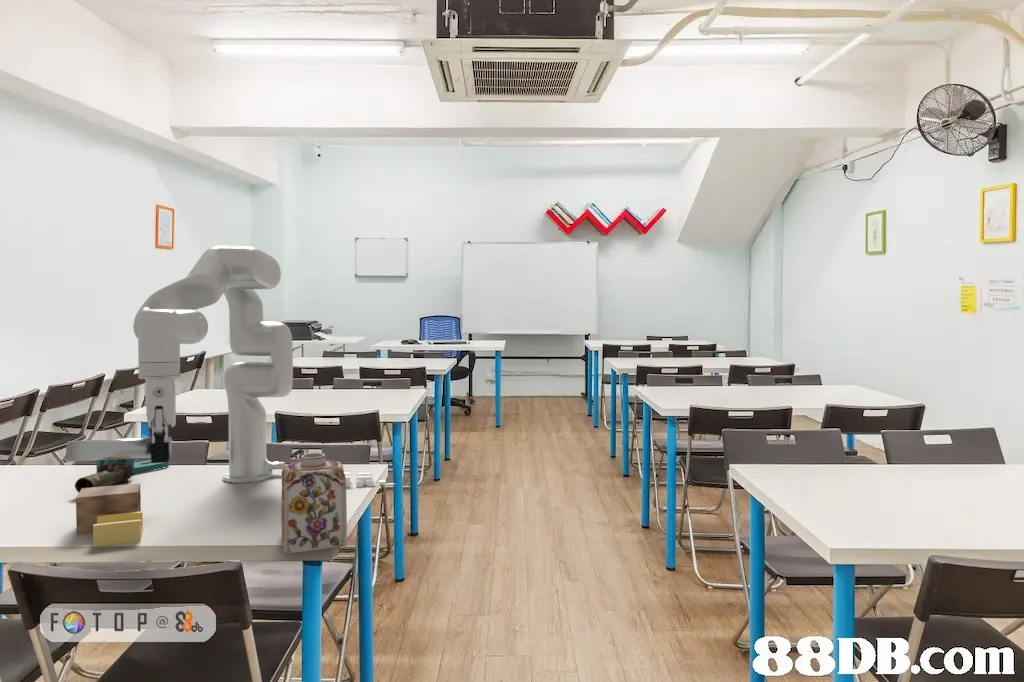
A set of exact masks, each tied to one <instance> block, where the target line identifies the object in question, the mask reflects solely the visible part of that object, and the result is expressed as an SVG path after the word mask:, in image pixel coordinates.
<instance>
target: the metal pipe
mask: <svg viewBox="0 0 1024 682" xmlns="http://www.w3.org/2000/svg"><path fill="white" fill-rule="evenodd" d="M132 468H133V466H131V465H127V464H125V463H122V462H120V463H117V461H116V462H112V463H111V462H108V463H106V464H102V465H101V466H99V468H98V472H97V471H96V473H93V474H89V475H85V476H83V477H80V478H78V479H77V480H76V482H75V483H74V488H75V491H76V492H78V493H79V492H80V490H81V489H82V488H91V487H103V486H114V485H119V484H123V483H124V484H125V483H128V482H129V481H128V480H129V479H131V478H132V477H133V476H135V474H133V473H132Z"/></svg>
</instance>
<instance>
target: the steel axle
mask: <svg viewBox="0 0 1024 682" xmlns="http://www.w3.org/2000/svg"><path fill="white" fill-rule="evenodd" d="M172 439H173V438H172V436H168V437H167V442H169V457H172V452H173V451H172V443H173V441H172ZM151 443H152V436H151V437H131V438H111V439H106V438H105V439H89V440H88V439H87V440H68V441H67V442H66V447H65V448H66V449H65V458H66V459H65V460H66V463H69V462H70V463H73V462H75V463H76V462H90V461H96V460H113V459H131V458H134V459H145V458H146V459H147V458H149V459H150V458H151Z"/></svg>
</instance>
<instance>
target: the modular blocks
mask: <svg viewBox="0 0 1024 682" xmlns="http://www.w3.org/2000/svg"><path fill="white" fill-rule="evenodd" d="M344 474H345V478H346V488H350V487H351V472H349V471H347V472H346V471H344ZM372 475H373V474H372V472H358V473H356V477H355V486H356V488H361V487H364V486H366V485H367V486H366V487H374V477H373V476H374V475H373V476H372ZM378 484H379V486H386V485H395V483H394V482H390V483H386V480H385V479H380V480H378ZM363 485H364V486H363Z"/></svg>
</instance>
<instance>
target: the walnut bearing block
mask: <svg viewBox="0 0 1024 682" xmlns="http://www.w3.org/2000/svg"><path fill="white" fill-rule="evenodd" d="M141 498H142V497H141V483H139V482H138V483H128V484H115V485H109V486H103V487H91V488H82V489H81V490H80V492H78V494H76V497H75V518H76V519H75V520H76V521H75V525H76V536H81V535H82V536H83V535H91V534H92V535H93V525H94V524H97V516H101V515H111V514H120V513H130V512H140V511H142V509H141V507H142V506H141V505H142V503H141V500H142V499H141Z"/></svg>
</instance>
